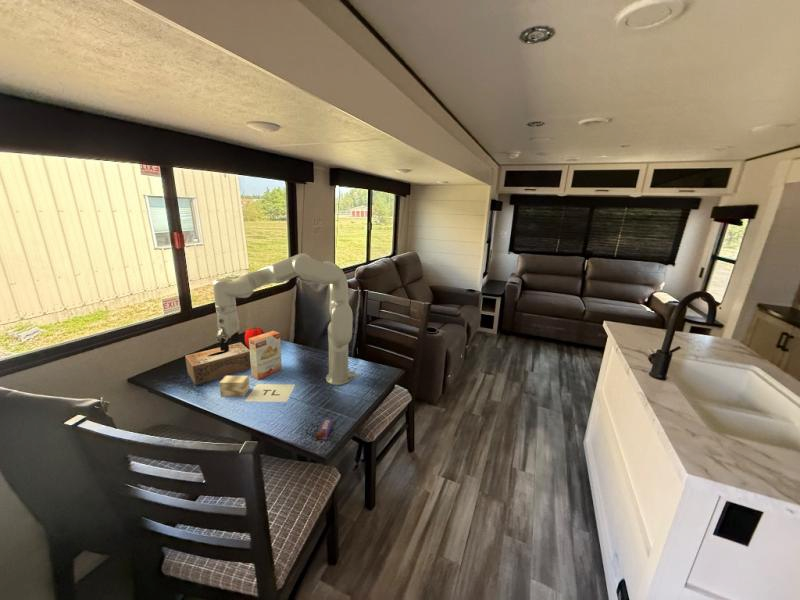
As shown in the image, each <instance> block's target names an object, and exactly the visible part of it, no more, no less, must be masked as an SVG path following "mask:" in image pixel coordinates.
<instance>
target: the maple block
mask: <svg viewBox="0 0 800 600" xmlns="http://www.w3.org/2000/svg"><path fill="white" fill-rule="evenodd" d="M249 390H250V378H249V375H227V376H224V377H222V379H221V380H220V381H219V392H220V397H245V396H246V394H247V393H248V392H249Z"/></svg>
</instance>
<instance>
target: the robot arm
mask: <svg viewBox="0 0 800 600" xmlns="http://www.w3.org/2000/svg"><path fill="white" fill-rule="evenodd" d="M298 276H301V277H303V278H305V279H309V280H311V281H314V282H318V283H322V284H326V285H329V304H328V305H329V308H328V309H329V314H330V317H331V321H330V322H329V324H328V325H327V338H328V339H327V340H328V374H327V375H326V376H325V381H326V382H327V383H328V384H329V385H333V386H342V385H346V384H348V383H349V382H350V381H351V380H352V378H358V373H357V372H355V370H354V371H351V370H350V368H349V343H350V342H351V340H352V337H353V322H354V321H353V320H354V319H353V315H354V314H353V310H352V308H351V306H350V304H349V284H348V283H349V282H348V279H347V276H346V274H345V271H343V269H342V268H341V267H340V266H339V265H337V264H336V263H335V262H333V261H330V260H329V261H328V260H326V261H325V260H324V261H319V260H317V259H314V258H311V256H310V255H308V254H307V253H303V252H302V253H298V254H295V255H293V256H291V257H288V258H285V259H283V260H280V261H278V262H275V263H273V264H271V265H268V266H265V267H262V268H260V269H257V270H254V271H252V272H249V273H246V274H244V275H242V276H240V277H239V278H238V279H237V280H235V281H234V280H232V279H230V278H218V279H215V280H213V283H212V288H213V297H214V305H215V312H216V320H217V322H216V323H217V326H216V327H217V334H216V338H217V340H218V343H219V347H220V349H221V351H228V350H229V345H230V344H229V341H228V339H229V337H230V339H231V342H233V343H234V342H237V343H239V342H240V333H239V332H240V328H241V327H240V326H241V325H240V319H239V315H238V314H239V313H238V309H237V302H236V301H237V300H236V298H239V299H247V298H249V297H251V296H252V295H253V293H254V291H255V290H257V289H259V288H262V287H263V286H266V285H269V284H282V283H284V282H286V281H289V280H291V279H294V278H295V277H298Z"/></svg>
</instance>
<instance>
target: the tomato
mask: <svg viewBox="0 0 800 600" xmlns="http://www.w3.org/2000/svg"><path fill="white" fill-rule="evenodd" d="M261 334H265V332H264V330H263V328H261V327H256V326H254V327H250V328H247V329H246V331H245V333H244V343H245V345H246V347H247V348H249V338H252V337H255V336H258V335H261Z"/></svg>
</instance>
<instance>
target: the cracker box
mask: <svg viewBox="0 0 800 600" xmlns="http://www.w3.org/2000/svg"><path fill="white" fill-rule="evenodd" d="M281 348H282V347H281V333H280V332H278V331H275V330H272V331H268V332H264V334H261V335H258V336H255V337H252V338H249V347H248V349H249V350H250V362H251V369H250V373H251V377H252V378H254V379H256V380H261V379H263V378H265V377H267V376H270V375H272V374H275V373H277V372H278V371H280V370H282V349H281Z"/></svg>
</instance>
